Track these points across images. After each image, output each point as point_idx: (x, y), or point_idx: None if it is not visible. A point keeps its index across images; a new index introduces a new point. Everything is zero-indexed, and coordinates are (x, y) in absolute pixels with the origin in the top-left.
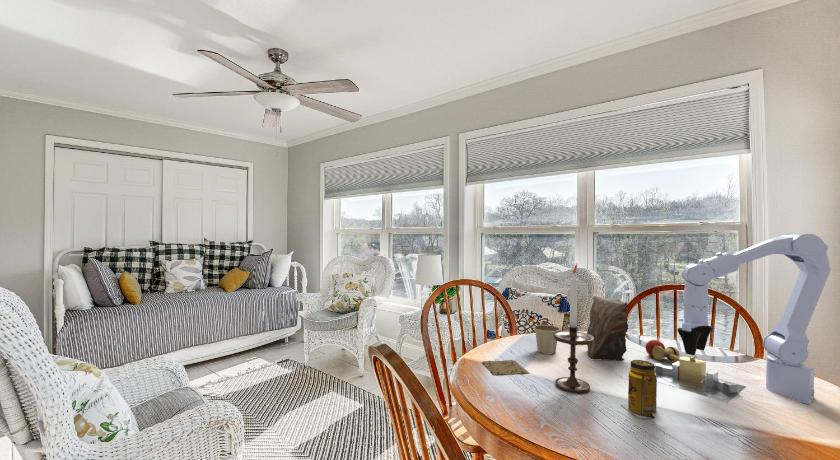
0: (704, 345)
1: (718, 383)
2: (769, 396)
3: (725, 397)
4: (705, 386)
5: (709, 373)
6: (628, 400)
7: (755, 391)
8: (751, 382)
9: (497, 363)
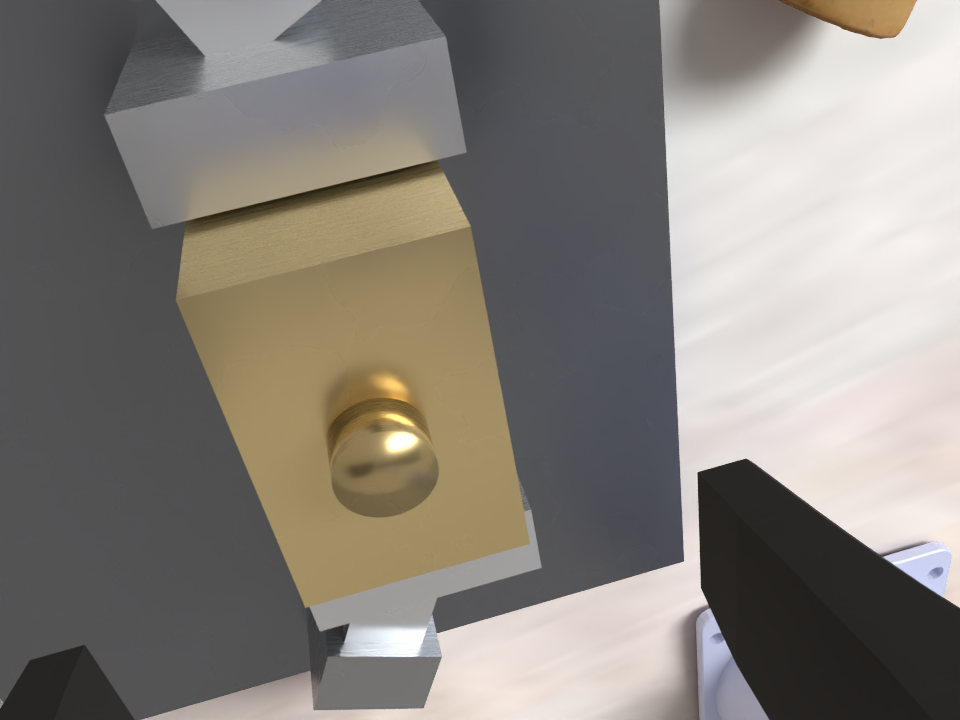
0: (759, 703)
1: None
2: (654, 660)
3: (148, 683)
4: None
5: None
6: None
7: (684, 582)
8: (931, 450)
9: None
